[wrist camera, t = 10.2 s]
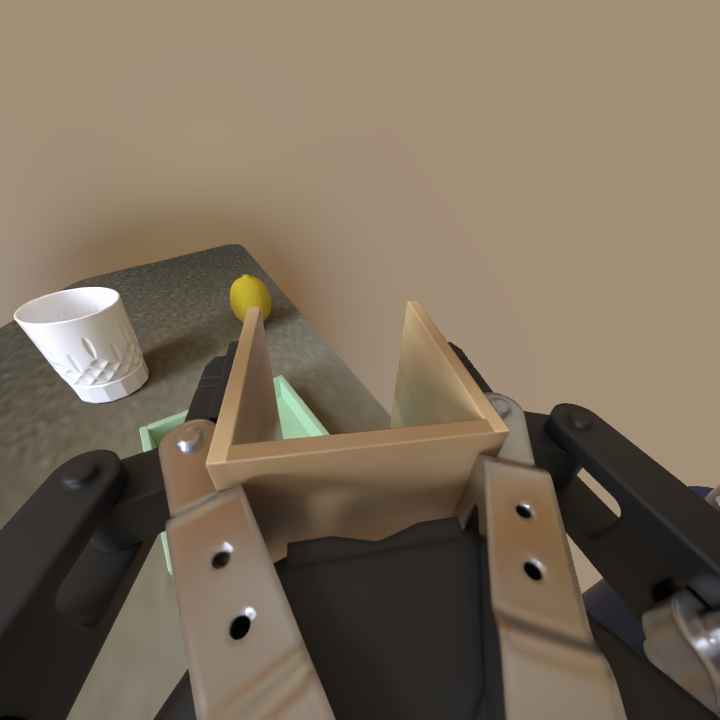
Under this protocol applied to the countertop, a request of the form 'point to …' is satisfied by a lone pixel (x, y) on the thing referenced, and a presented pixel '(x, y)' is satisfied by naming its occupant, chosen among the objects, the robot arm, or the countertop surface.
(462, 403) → the open wooden box
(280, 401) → the tray
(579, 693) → the robot arm
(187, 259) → the countertop surface
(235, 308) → the lemon
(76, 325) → the white cup
